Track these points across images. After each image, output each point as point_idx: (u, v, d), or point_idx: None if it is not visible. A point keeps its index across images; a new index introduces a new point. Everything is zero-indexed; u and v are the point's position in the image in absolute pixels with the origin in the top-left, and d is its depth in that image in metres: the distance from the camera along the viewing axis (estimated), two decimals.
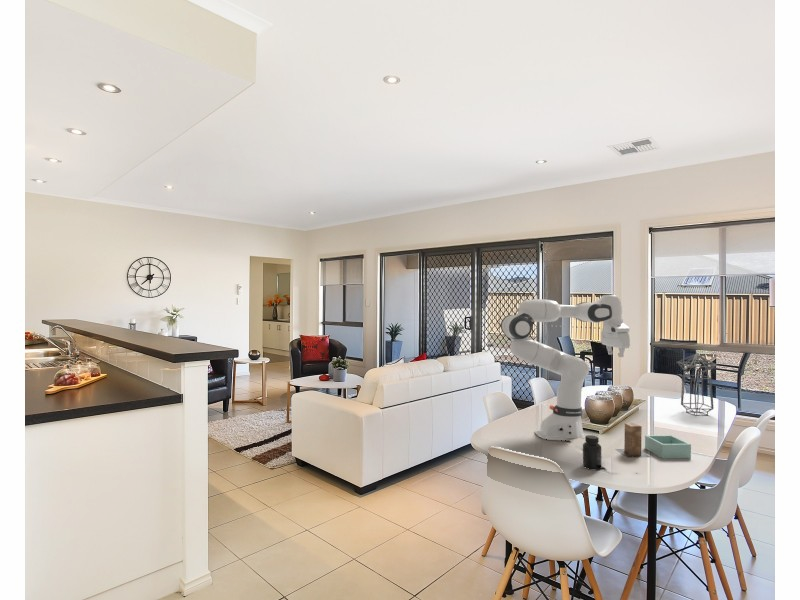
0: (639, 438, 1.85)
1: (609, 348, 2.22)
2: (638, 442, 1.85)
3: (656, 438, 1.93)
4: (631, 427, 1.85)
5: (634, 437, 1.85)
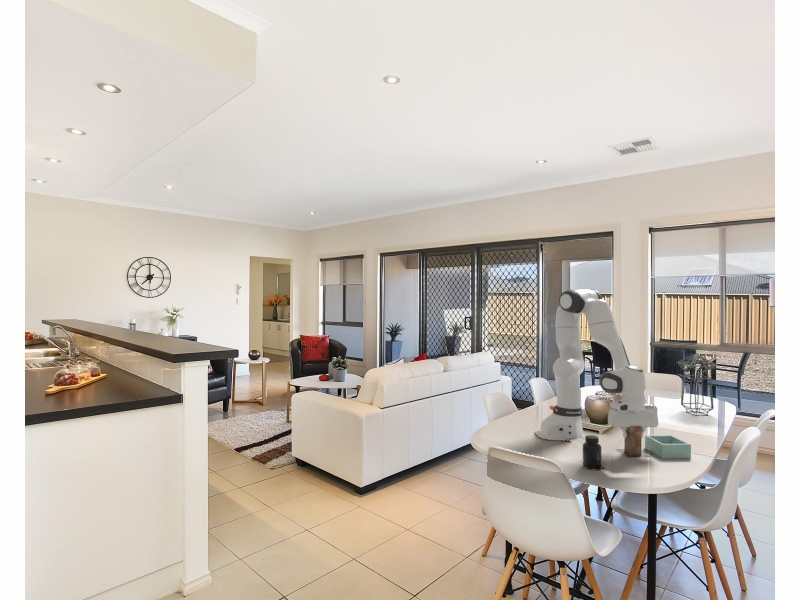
0: (639, 438, 1.85)
1: None
2: (638, 442, 1.85)
3: (656, 438, 1.93)
4: (631, 427, 1.85)
5: (634, 437, 1.85)
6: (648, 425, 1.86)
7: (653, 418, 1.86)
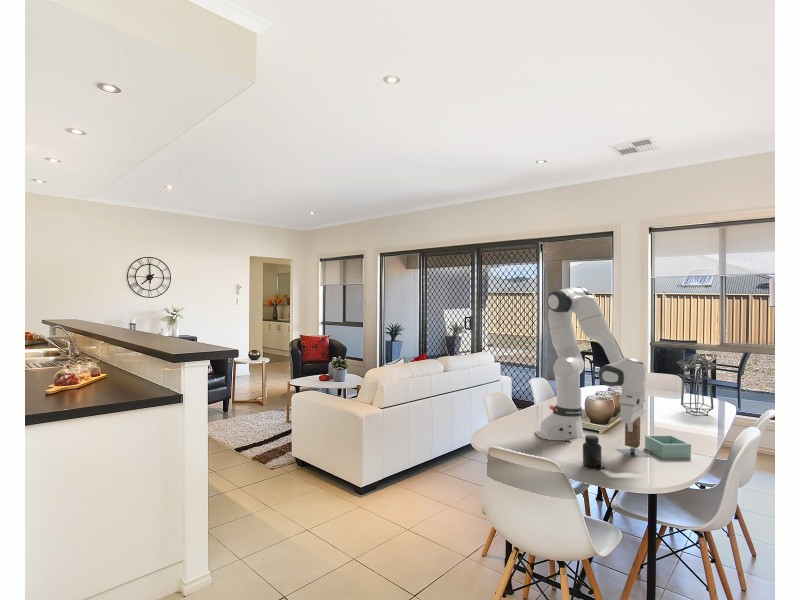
0: (639, 429, 1.87)
1: None
2: (639, 434, 1.87)
3: (656, 438, 1.93)
4: (637, 420, 1.84)
5: (638, 429, 1.86)
6: (641, 415, 1.90)
7: (642, 407, 1.92)
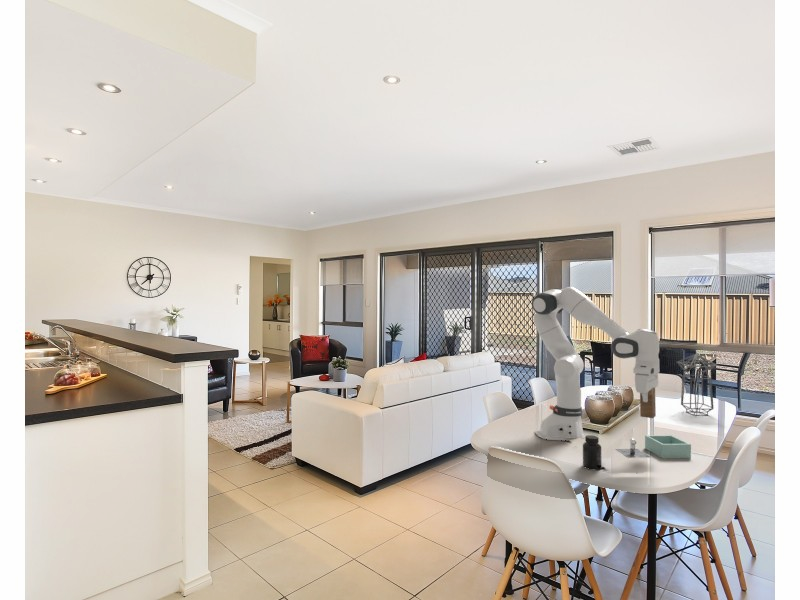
0: (654, 400, 1.86)
1: None
2: (654, 404, 1.86)
3: (656, 438, 1.93)
4: (652, 390, 1.84)
5: (653, 399, 1.85)
6: (655, 386, 1.90)
7: (657, 378, 1.91)
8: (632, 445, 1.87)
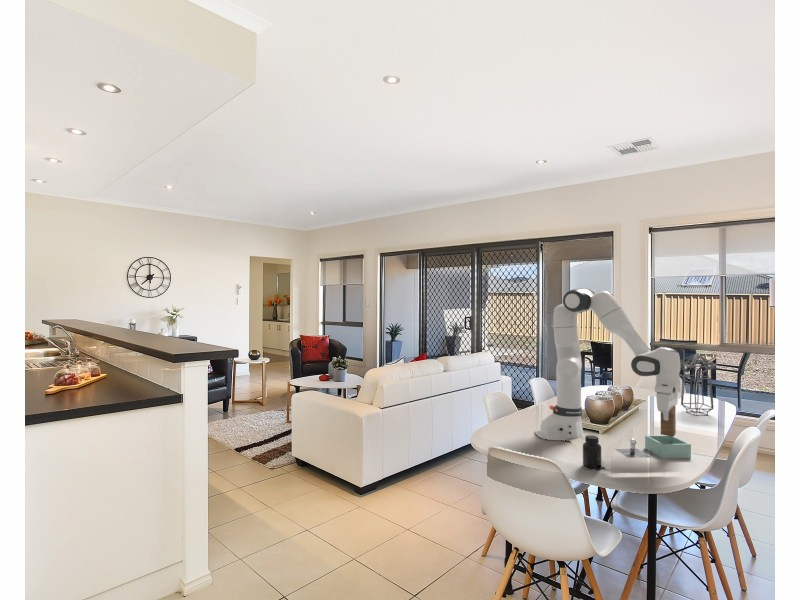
0: (675, 418, 1.87)
1: None
2: (674, 422, 1.87)
3: (656, 438, 1.93)
4: (673, 409, 1.85)
5: (674, 418, 1.86)
6: (675, 403, 1.91)
7: (676, 396, 1.92)
8: (632, 445, 1.87)
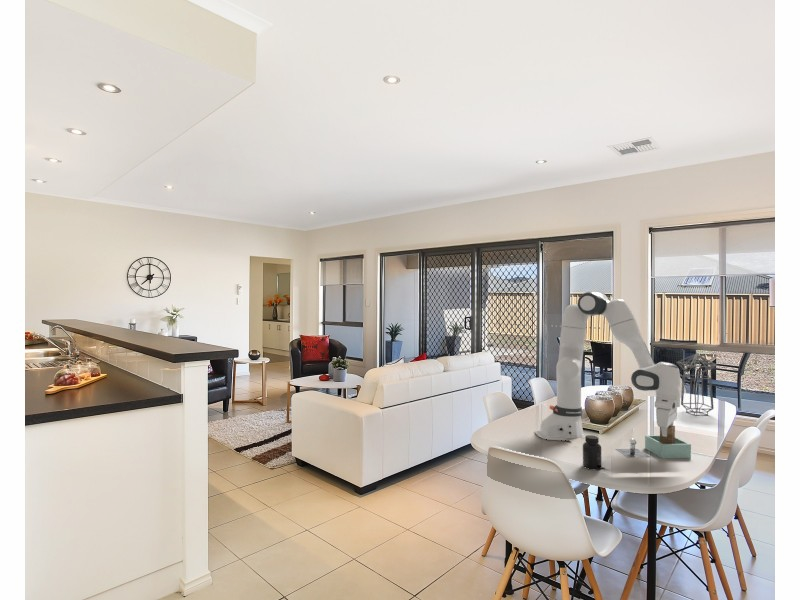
0: (674, 438, 1.88)
1: None
2: (674, 443, 1.87)
3: (656, 438, 1.93)
4: (672, 429, 1.85)
5: (673, 438, 1.86)
6: (675, 418, 1.91)
7: (676, 410, 1.92)
8: (632, 445, 1.87)
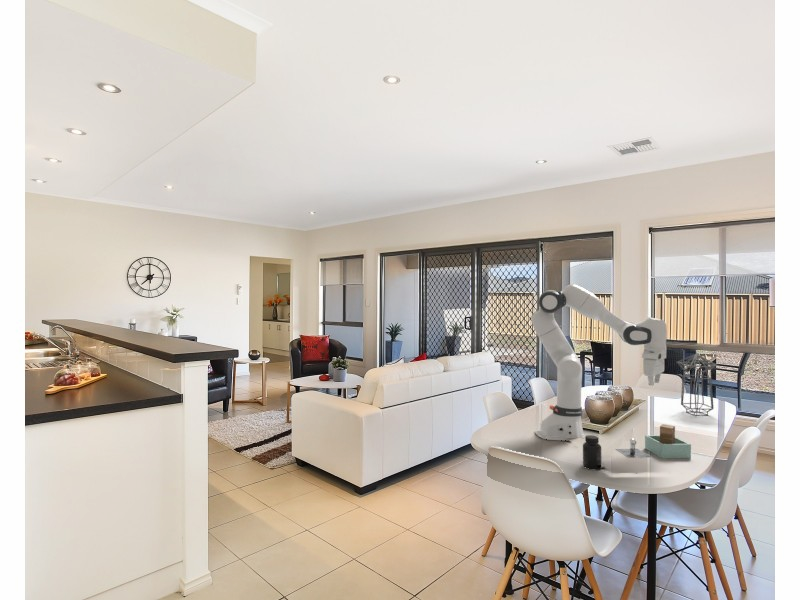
0: (674, 438, 1.88)
1: (657, 376, 2.06)
2: (674, 443, 1.87)
3: (656, 438, 1.93)
4: (672, 429, 1.85)
5: (673, 438, 1.86)
6: (662, 371, 2.04)
7: (663, 363, 2.06)
8: (632, 445, 1.87)
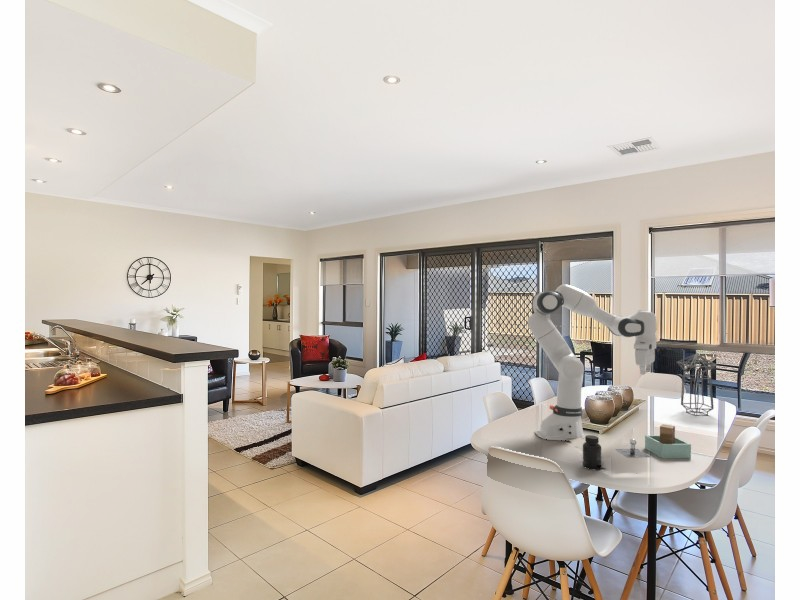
0: (674, 438, 1.88)
1: (648, 365, 2.16)
2: (674, 443, 1.87)
3: (656, 438, 1.93)
4: (672, 429, 1.85)
5: (673, 438, 1.86)
6: (652, 360, 2.15)
7: (653, 354, 2.16)
8: (632, 445, 1.87)
